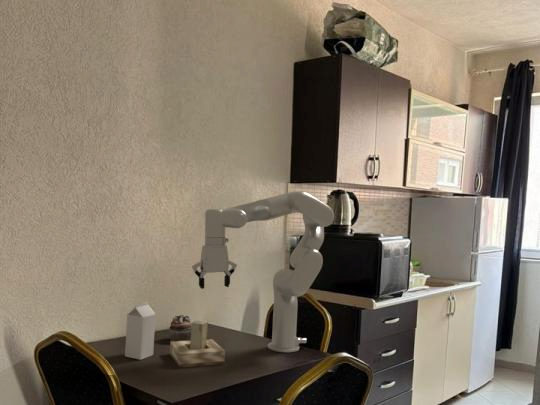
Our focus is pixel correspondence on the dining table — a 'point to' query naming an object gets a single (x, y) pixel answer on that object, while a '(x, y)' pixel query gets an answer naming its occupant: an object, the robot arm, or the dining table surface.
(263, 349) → the dining table surface
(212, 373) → the dining table surface
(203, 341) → the skincare box
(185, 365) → the socket block
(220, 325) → the dining table surface
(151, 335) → the milk carton
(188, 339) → the cupcake
